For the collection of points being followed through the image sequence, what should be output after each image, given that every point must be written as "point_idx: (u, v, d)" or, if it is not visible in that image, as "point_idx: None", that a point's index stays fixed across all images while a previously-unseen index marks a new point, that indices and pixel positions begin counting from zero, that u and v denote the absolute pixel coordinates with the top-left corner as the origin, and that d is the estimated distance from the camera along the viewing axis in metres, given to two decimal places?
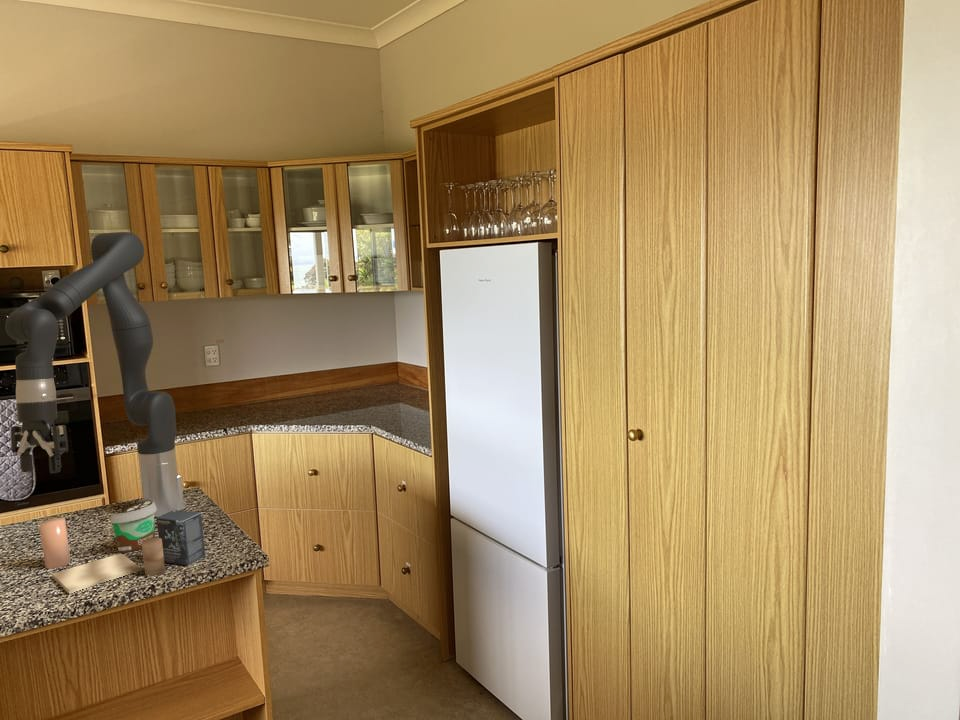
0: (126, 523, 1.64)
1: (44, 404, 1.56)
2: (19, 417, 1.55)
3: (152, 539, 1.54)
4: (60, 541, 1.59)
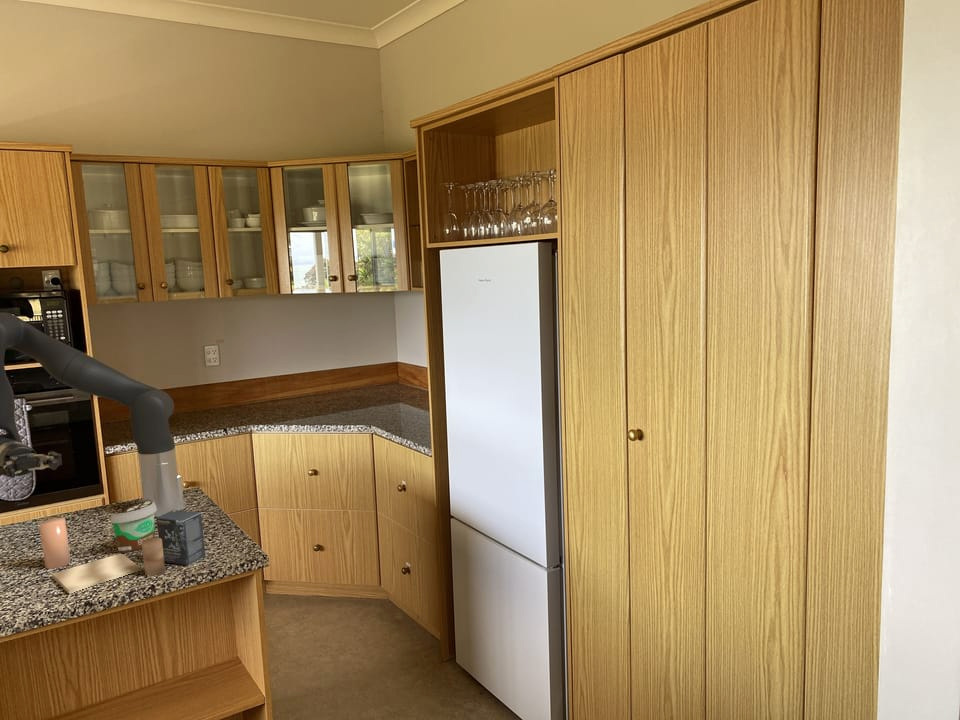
0: (126, 523, 1.64)
1: None
2: None
3: (152, 539, 1.54)
4: (60, 541, 1.59)
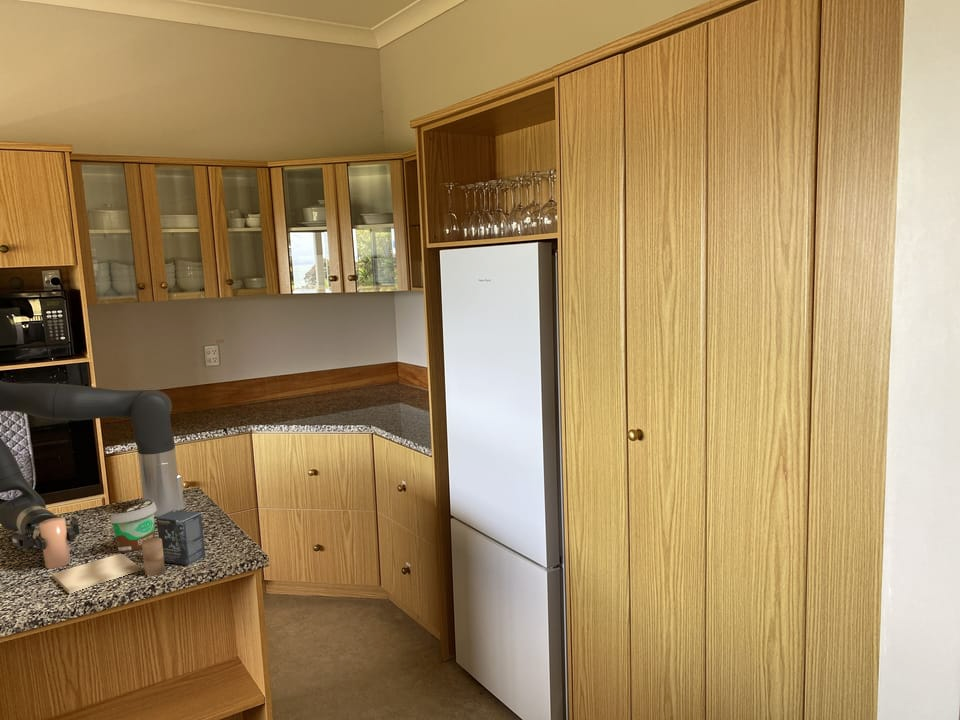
0: (126, 523, 1.64)
1: (22, 533, 1.68)
2: None
3: (152, 539, 1.54)
4: (60, 541, 1.59)
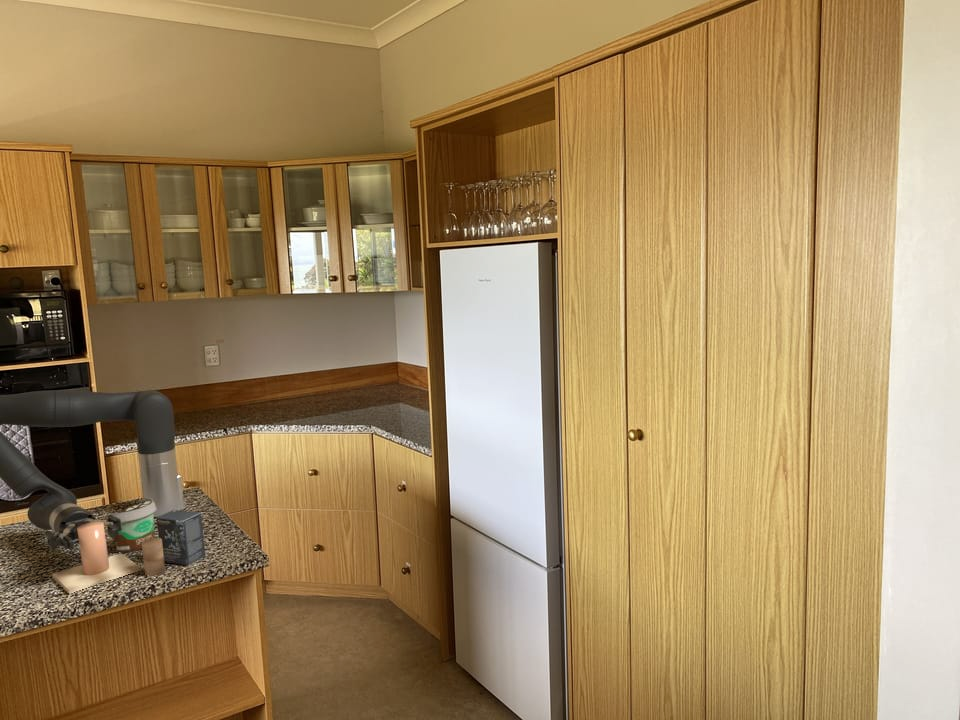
0: (124, 523, 1.65)
1: (55, 532, 1.60)
2: None
3: (152, 539, 1.54)
4: (99, 546, 1.52)
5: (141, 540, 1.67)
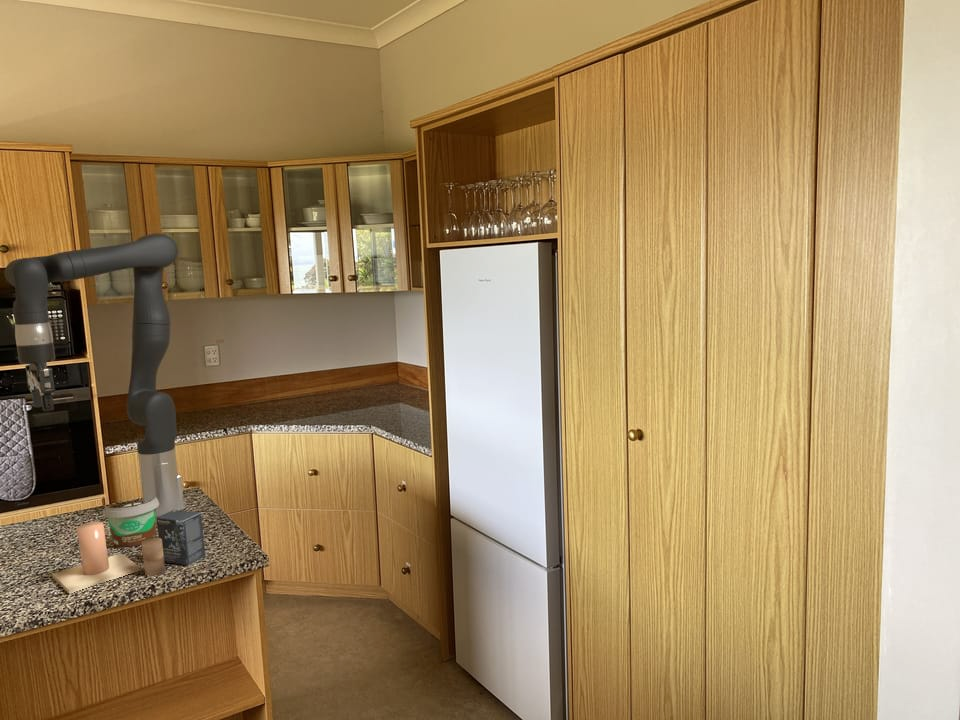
0: (111, 518, 1.68)
1: (34, 347, 1.67)
2: (18, 358, 1.69)
3: (152, 539, 1.54)
4: (98, 546, 1.52)
5: (127, 538, 1.69)
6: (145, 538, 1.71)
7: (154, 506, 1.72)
